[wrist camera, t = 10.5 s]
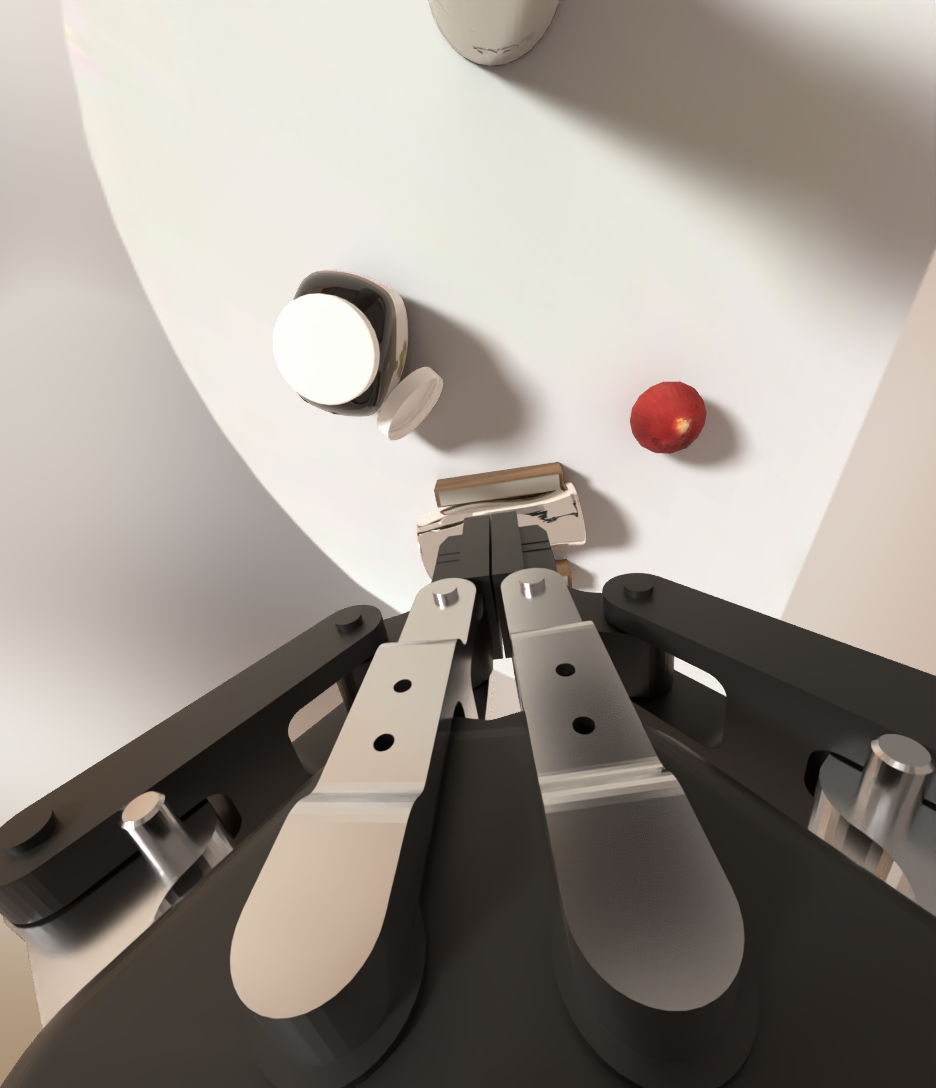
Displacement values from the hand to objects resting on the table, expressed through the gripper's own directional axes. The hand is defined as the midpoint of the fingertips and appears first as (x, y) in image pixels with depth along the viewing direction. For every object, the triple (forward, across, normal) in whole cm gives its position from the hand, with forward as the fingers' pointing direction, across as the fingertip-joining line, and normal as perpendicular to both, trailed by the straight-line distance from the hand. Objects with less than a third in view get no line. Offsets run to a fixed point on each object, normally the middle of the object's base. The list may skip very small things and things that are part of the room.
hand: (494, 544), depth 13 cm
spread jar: (+32, +9, -4) cm, 34 cm away
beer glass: (+29, -7, +12) cm, 32 cm away
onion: (+32, -14, +4) cm, 36 cm away
